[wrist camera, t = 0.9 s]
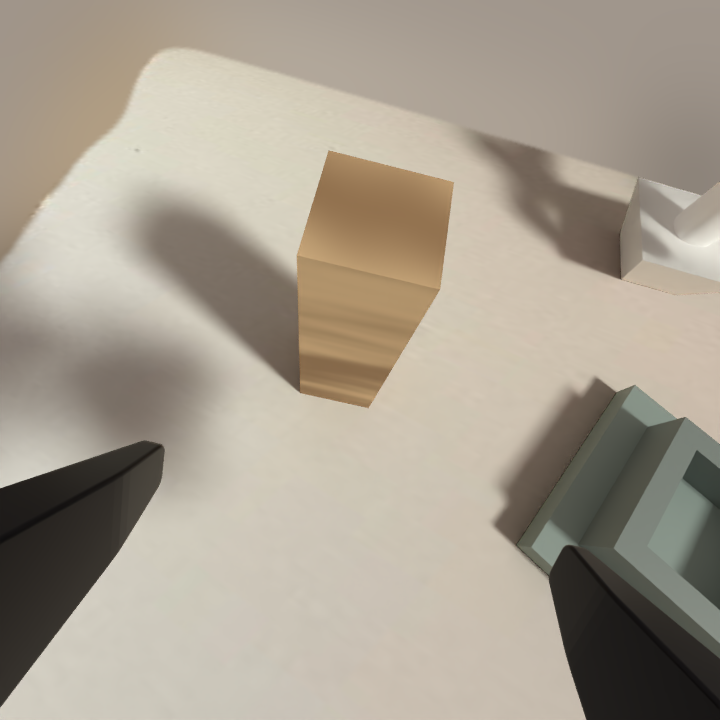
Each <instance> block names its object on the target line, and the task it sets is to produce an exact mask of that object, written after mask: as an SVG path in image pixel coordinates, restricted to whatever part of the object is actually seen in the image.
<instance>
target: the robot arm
mask: <svg viewBox="0 0 720 720" xmlns="http://www.w3.org/2000/svg"><path fill="white" fill-rule="evenodd" d="M164 451H165V450H164V447H163V445H162V444H158V443H154V442H150V441H141V442H138V443H135V444H132V445H129V446H126V447H123V448H120V449H117V450H114V451H111V452H108V453H105V454H102V455H99V456H96V457H93V458H90V459H87V460H84V461H81V462H78V463H75V464H72V465H69V466H66V467H63V468H60V469H57V470H54V471H51V472H48V473H45V474H42V475H39V476H36V477H33V478H30V479H27V480H24V481H21V482H18V483H15V484H12V485H9V486H6V487H3V488H0V707H1V706H2V705H3V703H4V702H5V701H6V699H7V698H8V697H9V695H10V694H11V693H12V691H13V690H14V689H15V688H16V686H17V685H18V684H19V682H20V681H21V680H22V678H23V677H24V676H25V674H26V673H27V672H28V670H29V669H30V668H31V667H32V665H33V664H34V663H35V661H36V660H37V659H38V657H39V656H40V655H41V653H42V652H43V651H44V649H45V648H46V647H47V646H48V644H49V643H50V642H51V640H52V639H53V638H54V636H55V635H56V634H57V632H58V631H59V630H60V628H61V627H62V626H63V625H64V623H65V622H66V621H67V619H68V618H69V617H70V615H71V614H72V613H73V611H74V610H75V609H76V607H77V606H78V605H79V604H80V602H81V601H82V600H83V598H84V597H85V596H86V594H87V593H88V592H89V590H90V589H91V588H92V586H93V585H94V584H95V583H96V581H97V580H98V579H99V577H100V576H101V575H102V573H103V572H104V571H105V569H106V568H107V567H108V565H109V564H110V563H111V561H112V560H113V559H114V557H115V556H116V555H117V553H118V552H119V550H120V549H121V547H122V546H123V544H124V542H125V541H126V539H127V538H128V536H129V534H130V533H131V531H132V529H133V528H134V526H135V525H136V523H137V521H138V520H139V518H140V516H141V515H142V513H143V511H144V510H145V508H146V507H147V505H148V503H149V502H150V500H151V498H152V497H153V495H154V493H155V492H156V490H157V489H158V487H159V485H160V482H161V479H162V471H163V462H164ZM549 583H550V588H551V592H552V597H553V601H554V606H555V610H556V614H557V619H558V623H559V628H560V632H561V636H562V641H563V645H564V649H565V653H566V657H567V660H568V664H569V667H570V670H571V674H572V677H573V680H574V683H575V686H576V689H577V692H578V695H579V698H580V702H581V705H582V708H583V711H584V714H585V717H586V720H720V658H719V657H718V656H716V655H715V654H714V653H713V652H712V651H710V650H709V649H708V648H707V647H705V646H704V645H703V644H702V643H701V642H699V641H698V640H697V639H696V638H695V637H693V636H692V635H691V634H690V633H688V632H687V631H686V630H685V629H684V628H682V627H681V626H680V625H679V624H677V623H676V622H675V621H674V620H673V619H671V618H670V617H669V616H668V615H667V614H665V613H664V612H663V611H662V610H660V609H659V608H658V607H657V606H656V605H654V604H653V603H652V602H651V601H649V600H648V599H647V598H646V597H645V596H643V595H642V594H641V593H640V592H639V591H637V590H636V589H635V588H634V587H632V586H631V585H630V584H629V583H628V582H626V581H625V580H624V579H623V578H621V577H620V576H619V575H618V574H617V573H615V572H614V571H613V570H612V569H611V568H609V567H608V566H607V565H606V564H604V563H603V562H602V561H601V560H600V559H598V558H597V557H596V556H595V555H593V554H592V553H591V552H590V551H589V550H587V549H585V548H582V547H578V546H574V545H570V544H569V545H565V546H564V547H563V548H562V550H561V552H560V554H559V555H558V557H557V559H556V561H555V563H554V565H553V567H552V569H551V571H550V574H549Z"/></svg>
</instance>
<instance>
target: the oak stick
mask: <svg viewBox="0 0 720 720" xmlns="http://www.w3.org/2000/svg"><path fill="white" fill-rule="evenodd" d="M453 184H454V182H451V181H447V180H443V179H439V178H435V177H431V176H427V175H423V174H419V173H415V172H411V171H407V170H404V169H400V168H396V167H392V166H388V165H384V164H380V163H376V162H372V161H368V160H364V159H360V158H356V157H352V156H348V155H344V154H340V153H337V152H333V151H328V155H327V158H326V161H325V164H324V168H323V171H322V174H321V178H320V181H319V184H318V188H317V191H316V194H315V197H314V201H313V204H312V207H311V211H310V214H309V217H308V220H307V224H306V227H305V230H304V234H303V237H302V240H301V244H300V247H299V250H298V253H297V281H298V323H299V365H300V393H303V394H308V395H312V396H317V397H321V398H326V399H330V400H335V401H339V402H344V403H348V404H353V405H357V406H362V407H367V408H369V406H370V404H371V403H372V401H373V399H374V398H375V396H376V395H377V393H378V391H379V390H380V388H381V386H382V385H383V383H384V381H385V380H386V378H387V376H388V375H389V373H390V371H391V370H392V368H393V366H394V365H395V363H396V361H397V360H398V358H399V356H400V355H401V353H402V351H403V350H404V348H405V347H406V345H407V343H408V342H409V340H410V338H411V337H412V335H413V333H414V332H415V330H416V328H417V327H418V325H419V323H420V322H421V320H422V318H423V317H424V315H425V313H426V312H427V310H428V308H429V307H430V305H431V303H432V302H433V300H434V299H435V297H436V295H437V294H438V292H439V290H440V285H441V277H442V270H443V262H444V254H445V246H446V239H447V231H448V223H449V215H450V208H451V200H452V192H453Z"/></svg>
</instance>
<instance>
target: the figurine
mask: <svg viewBox="0 0 720 720" xmlns="http://www.w3.org/2000/svg"><path fill="white" fill-rule="evenodd" d="M620 256H621V280H625V281H628V282H632V283H635V284H639V285H642V286H646V287H649V288H653V289H657V290H660V291H664V292H667V293H671V294H674V295H691V294H708V293H720V181H719V182H718V183H717V184H716V185H714V186H713V187H712V188H711V189H709V190H708V191H707V192H706V193H704V194H703V195H702V196H701V195H698V194H695V193H691V192H688V191H684V190H681V189H677V188H674V187H671V186H667V185H664V184H660V183H657V182H653V181H650V180H647V179H644V178H640V177H638V179H637V182H636V185H635V189H634V192H633V195H632V198H631V201H630V204H629V207H628V210H627V213H626V216H625V219H624V222H623V225H622V228H621V231H620Z"/></svg>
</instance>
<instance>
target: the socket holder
mask: <svg viewBox="0 0 720 720" xmlns="http://www.w3.org/2000/svg"><path fill="white" fill-rule="evenodd" d="M569 544H570V545H574V546H578V547H582V548H585V549H587V550H589V551H590V552H591V553H592V554H593V555H595V556H596V557H597V558H598V559H600V560H601V561H602V562H603V563H604V564H606V565H607V566H608V567H609V568H611V569H612V570H613V571H614V572H615V573H617V574H618V575H619V576H620V577H621V578H623V579H624V580H625V581H626V582H628V583H629V584H630V585H631V586H632V587H634V588H635V589H636V590H637V591H639V592H640V593H641V594H642V595H643V596H645V597H646V598H647V599H648V600H649V601H651V602H652V603H653V604H654V605H656V606H657V607H658V608H659V609H660V610H662V611H663V612H664V613H665V614H667V615H668V616H669V617H670V618H671V619H673V620H674V621H675V622H676V623H677V624H679V625H680V626H681V627H682V628H684V629H685V630H686V631H687V632H688V633H690V634H691V635H692V636H693V637H695V638H696V639H697V640H698V641H699V642H701V643H702V644H703V645H704V646H705V647H707V648H708V649H709V650H710V651H712V652H713V653H714V654H715V655H716V656H718V657H719V658H720V444H719V443H717V442H716V441H715V440H714V439H712V438H711V437H710V436H709V435H707V434H706V433H705V432H704V431H703V430H701V429H700V428H699V427H698V426H696V425H695V424H694V423H693V422H691V421H690V420H689V419H688V418H686V417H684V418H680V419H676V418H675V417H674V416H673V415H672V414H670V413H669V412H668V411H667V410H665V409H664V408H663V407H662V406H660V405H659V404H658V403H657V402H655V401H654V400H653V399H652V398H650V397H649V396H648V395H647V394H646V393H644V392H643V391H642V390H641V389H639V388H638V387H637V386H636V385H634V386H631V387H629V388H626V389H624V390H621V391H619V392H617V393H616V394H615V396H614V397H613V399H612V400H611V402H610V404H609V405H608V407H607V408H606V410H605V411H604V413H603V414H602V416H601V417H600V419H599V420H598V422H597V423H596V425H595V426H594V428H593V429H592V431H591V432H590V434H589V435H588V437H587V439H586V440H585V442H584V443H583V445H582V446H581V448H580V449H579V451H578V452H577V454H576V455H575V457H574V458H573V460H572V461H571V463H570V464H569V466H568V467H567V469H566V470H565V472H564V474H563V475H562V477H561V478H560V480H559V481H558V483H557V484H556V486H555V487H554V489H553V490H552V492H551V493H550V495H549V496H548V498H547V499H546V501H545V502H544V504H543V505H542V507H541V509H540V510H539V512H538V513H537V515H536V516H535V518H534V519H533V521H532V522H531V524H530V525H529V527H528V528H527V530H526V531H525V533H524V534H523V536H522V537H521V539H520V540H519V542H518V544H517V546H518V547H519V548H520V549H521V550H522V551H523V552H524V553H525V554H526V555H527V556H528V557H530V558H531V559H532V560H533V561H534V562H535V563H536V564H537V565H538V566H539V567H540V568H541V569H542V570H543V571H544V572H546V573H547V574H548V575H549V574H550V571H551V569H552V567H553V565H554V563H555V561H556V559H557V557H558V555H559V554H560V552H561V550H562V548H563V547H564V546H565V545H569Z"/></svg>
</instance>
